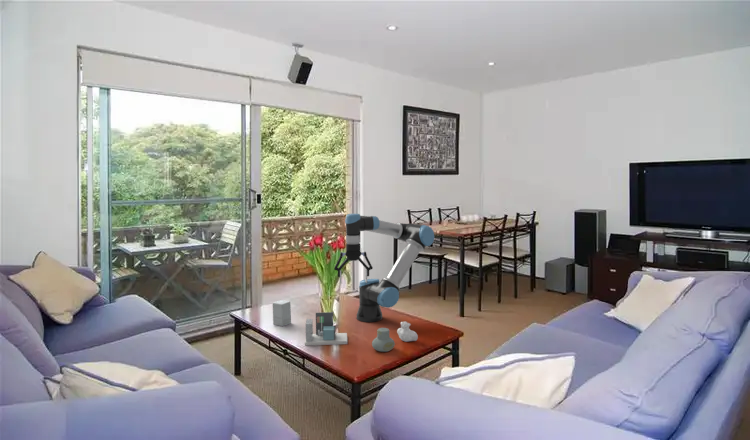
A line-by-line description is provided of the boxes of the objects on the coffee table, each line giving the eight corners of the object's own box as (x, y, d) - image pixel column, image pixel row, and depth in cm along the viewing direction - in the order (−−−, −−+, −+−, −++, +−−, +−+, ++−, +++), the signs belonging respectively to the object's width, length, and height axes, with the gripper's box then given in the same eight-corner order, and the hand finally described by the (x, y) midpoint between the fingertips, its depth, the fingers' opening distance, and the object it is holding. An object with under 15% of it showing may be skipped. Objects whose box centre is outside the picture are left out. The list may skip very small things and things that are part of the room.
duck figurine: (396, 342, 236) (388, 328, 230) (403, 330, 241) (395, 317, 234) (416, 347, 229) (408, 334, 223) (422, 335, 233) (415, 321, 227)
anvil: (312, 335, 235) (312, 318, 234) (312, 341, 227) (311, 323, 226) (306, 336, 235) (306, 319, 234) (305, 341, 227) (305, 324, 226)
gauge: (335, 333, 237) (335, 316, 236) (335, 339, 229) (335, 321, 228) (318, 334, 236) (318, 316, 236) (318, 340, 228) (317, 321, 227)
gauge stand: (346, 335, 240) (346, 311, 238) (347, 344, 228) (347, 318, 227) (306, 337, 238) (305, 312, 237) (304, 345, 226) (304, 319, 225)
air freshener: (386, 344, 227) (386, 325, 226) (397, 349, 220) (397, 329, 219) (369, 349, 220) (368, 329, 219) (379, 355, 214) (379, 334, 213)
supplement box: (291, 323, 261) (291, 301, 259) (282, 326, 254) (281, 304, 253) (281, 320, 265) (281, 299, 263) (272, 324, 258) (272, 302, 257)
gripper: (376, 241, 246) (376, 280, 248) (329, 242, 244) (330, 281, 246) (377, 243, 239) (377, 283, 241) (329, 244, 237) (329, 284, 239)
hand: (353, 282), depth 243 cm, fingers open, 13 cm apart
